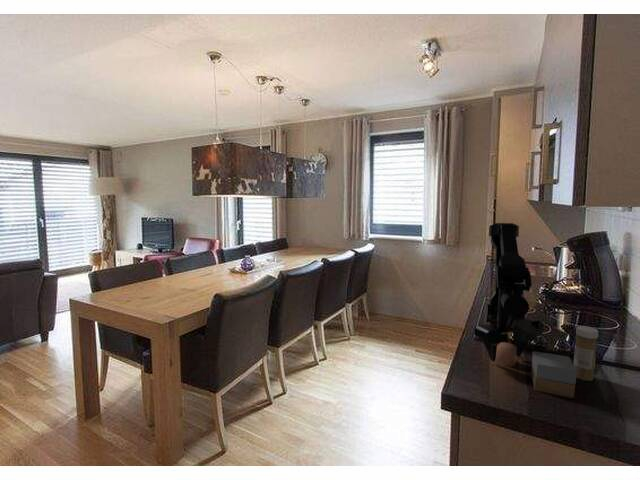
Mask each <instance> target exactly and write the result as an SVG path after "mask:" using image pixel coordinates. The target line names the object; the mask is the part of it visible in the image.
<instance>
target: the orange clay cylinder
mask: <svg viewBox="0 0 640 480" xmlns="http://www.w3.org/2000/svg"><path fill="white" fill-rule="evenodd" d="M516 350H517V347H516V346H515V344H514V343H506V342H501V343H500V344H498V345H497V352H496V359H495V362H496V363H497V364H498V365H501V366H504V367H508V368H509V367H510V368H511V367H515V366H516V361H517V356H516Z"/></svg>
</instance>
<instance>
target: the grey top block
mask: <svg viewBox="0 0 640 480" xmlns="http://www.w3.org/2000/svg"><path fill="white" fill-rule="evenodd" d="M531 354H532V355H531V365H532V366H533V369H534V372H535V375H536V378H541V379H547V380H552V381H558V382H563V383H569V384H574V385H575V386H576V384H577V378H576V374H577V370H576V368H575V367H574V362H573V361H572V360H571V358H570V356H566V355H560V354H556V353H555V354H554V353H549V352H540V351H534V350H533V351H532V353H531ZM532 366H531V367H532Z"/></svg>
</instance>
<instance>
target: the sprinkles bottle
mask: <svg viewBox="0 0 640 480" xmlns="http://www.w3.org/2000/svg"><path fill="white" fill-rule="evenodd" d="M575 330H576V331H575V333H576V334H575V335H576V339H575V346H574V356H573V365H574V367H575V368H576V370H577V374H576V379H579V380H581V381H584V382H585V381H586V382H590V381H593V380H594V373H595V372H594V371H595V366H596V352H597V340H598V338H599V330H598V329H596V328H595V327H591V326H587V325H579V326H576V329H575Z"/></svg>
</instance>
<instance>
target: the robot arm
mask: <svg viewBox="0 0 640 480" xmlns="http://www.w3.org/2000/svg"><path fill="white" fill-rule="evenodd" d="M519 228H520V225H519V224H517V223H516V224H514V223H513V222H511V223H509V222H493V223H492V224H490V225H489V227H488V237H490V243H491V245H492V246H493V248H494V250H495V252H494V253H495V257H494V259H495V260H494V290H493V291H494V292H493V293H492V295H491V296H490V298H489V299H488V303H486V307H485V310H484V311H485V313H484V319H485V322H486V323H489V324H478V325H476V326H474V332H473V333H474V334H473V335H474V336H476V337H477V338H479V339H480V340H481V342H482V343H483V345H484V348H485V349H486V351H487V352H486V353H487V354H488V356H489V359H490V361H492V362H496V352H497V345H498V344H500V343H501V342H506V343H510V336H509V334H512V333H513V341H514V342H513V345H515V346H516V347H517V350H516V357H517V358H521V356H522V354H523V352H524V351H525V349H526V346H527V344H528V343H529V341H530V342H531V341H534V342H535V341H536V340H537V338H538V336H541V335H543V334H544V332H543V331H544V322H542V321H541V320H538V319H537V320H529V319H527V318H526V315H527V314H528V313H529V311H530V304H529V302H528V301H527V298H526V297H525V296H524V291H527V292H530V291H531V287H532V286H533V285H532V283H533V281H532V275H531V271H530V268H529V267H527V265H526V261H525V259H524V258H523V257H522V256H520V254H519V249H518V243H517V238H519V236H520V235H519V231H520V229H519ZM510 344H511V343H510Z"/></svg>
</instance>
